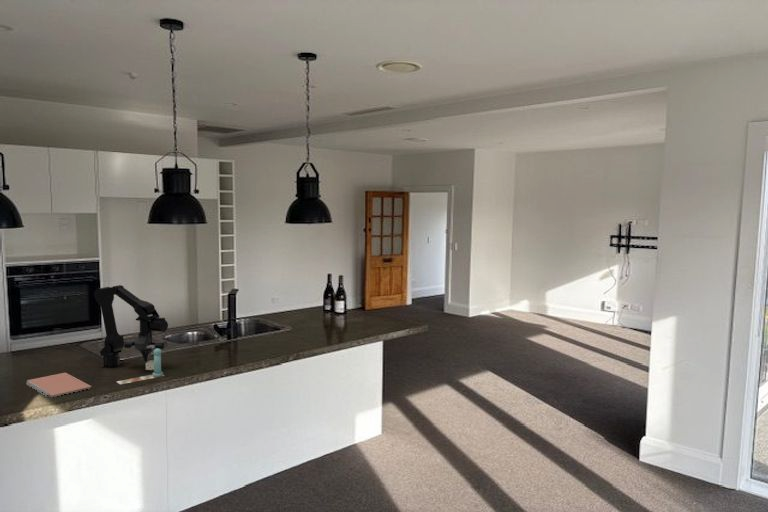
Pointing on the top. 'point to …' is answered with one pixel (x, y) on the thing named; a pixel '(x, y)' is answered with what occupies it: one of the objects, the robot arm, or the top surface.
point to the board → (136, 379)
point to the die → (150, 365)
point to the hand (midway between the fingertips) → (146, 361)
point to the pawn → (157, 363)
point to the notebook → (57, 385)
